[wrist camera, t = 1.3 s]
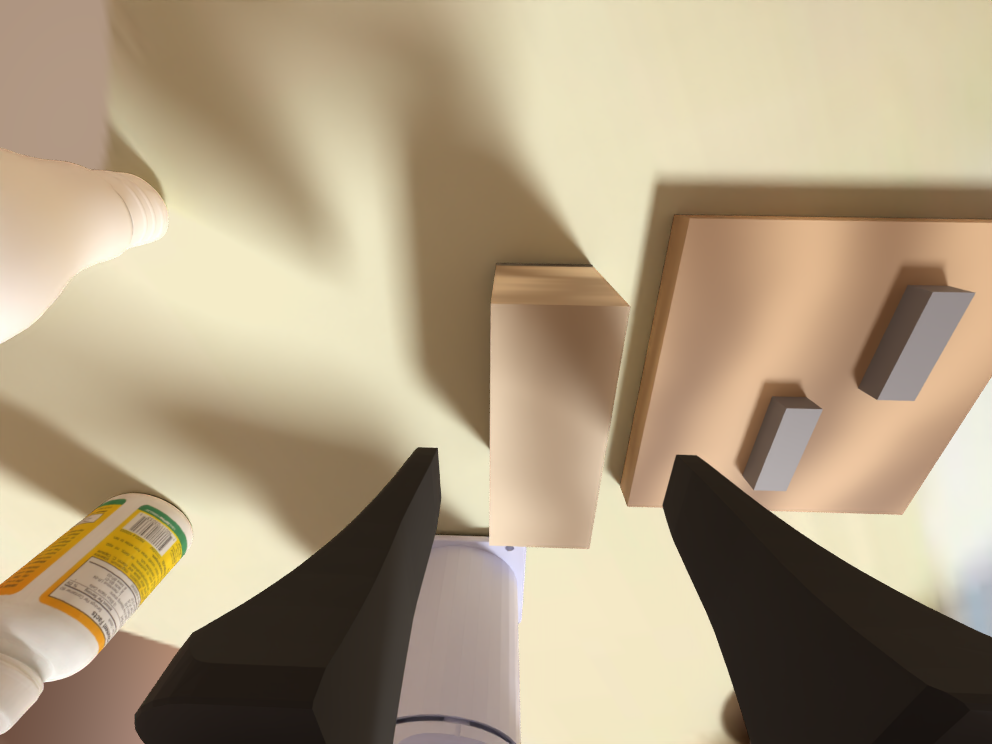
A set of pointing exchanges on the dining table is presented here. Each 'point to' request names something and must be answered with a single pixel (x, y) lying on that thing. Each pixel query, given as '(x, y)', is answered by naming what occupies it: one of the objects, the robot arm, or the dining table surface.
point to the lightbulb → (64, 229)
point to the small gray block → (781, 442)
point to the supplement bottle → (82, 593)
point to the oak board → (805, 353)
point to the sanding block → (550, 400)
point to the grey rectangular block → (914, 341)
